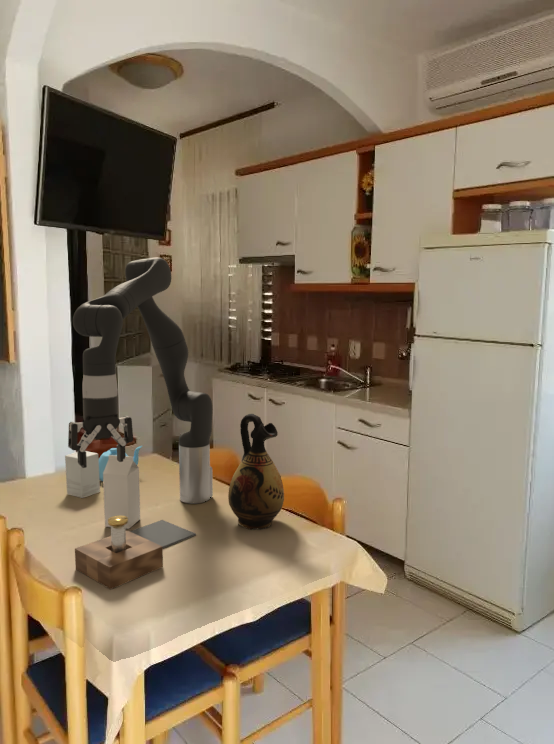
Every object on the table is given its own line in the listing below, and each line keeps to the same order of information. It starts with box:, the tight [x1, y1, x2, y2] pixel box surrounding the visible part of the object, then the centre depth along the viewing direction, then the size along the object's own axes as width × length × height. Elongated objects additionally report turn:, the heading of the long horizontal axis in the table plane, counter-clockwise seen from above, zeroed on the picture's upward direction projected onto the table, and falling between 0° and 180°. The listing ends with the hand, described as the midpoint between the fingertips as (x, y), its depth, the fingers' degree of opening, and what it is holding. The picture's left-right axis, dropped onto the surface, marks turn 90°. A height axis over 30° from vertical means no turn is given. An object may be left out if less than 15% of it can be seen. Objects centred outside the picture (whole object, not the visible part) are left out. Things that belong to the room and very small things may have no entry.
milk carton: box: [103, 455, 141, 530], centre depth 163 cm, size 7×7×19 cm
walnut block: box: [74, 529, 164, 590], centre depth 137 cm, size 14×14×5 cm
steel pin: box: [108, 516, 128, 553], centre depth 137 cm, size 4×4×12 cm
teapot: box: [98, 445, 143, 482], centre depth 203 cm, size 15×15×10 cm
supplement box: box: [64, 450, 101, 499], centre depth 187 cm, size 7×7×13 cm
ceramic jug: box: [227, 413, 285, 531], centre depth 163 cm, size 17×15×30 cm
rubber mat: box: [129, 519, 197, 549], centre depth 155 cm, size 14×14×1 cm
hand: (102, 464), depth 136 cm, fingers open, 8 cm apart
